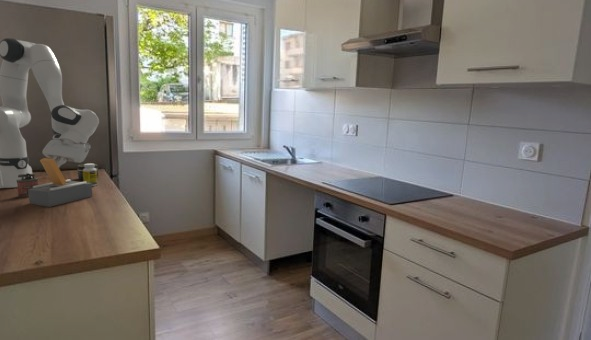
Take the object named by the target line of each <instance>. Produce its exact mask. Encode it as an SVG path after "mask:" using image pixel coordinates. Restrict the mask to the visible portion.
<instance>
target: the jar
mask: <svg viewBox="0 0 591 340" xmlns="http://www.w3.org/2000/svg"><path fill="white" fill-rule="evenodd" d="M84 164H85V163H83V164H82V163H80V164H78V165H77V166H76V167H77V168H76V169H77V177H78V179H79V180H80V181H83V169H84V168H85V167H84ZM94 164H95V167H94V168H96V170H97V179H98V177H99V165H98V164H96V163H94Z"/></svg>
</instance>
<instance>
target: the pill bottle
mask: <svg viewBox="0 0 591 340" xmlns="http://www.w3.org/2000/svg"><path fill="white" fill-rule="evenodd" d="M83 164H84V167H85V168H84V169H83V180H82V182H85V181H86V182H87V183H91V184H92V187H96V186H97V185H98V178H97V170H96V168H94V167H95V164H96V163H91V162H90V163H89V162H88V163H83Z"/></svg>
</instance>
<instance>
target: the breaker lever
mask: <svg viewBox="0 0 591 340" xmlns="http://www.w3.org/2000/svg"><path fill="white" fill-rule="evenodd" d="M39 162H40V164H41V165H42V167H43V169H44V170H45V172H46V174H47V176H48V177H49V179H50V181H51V183H53V184H55V185H65V184H66V183H67V182H66V180H67V179H66V178H65V176H64V175H63V173H62V171H61V169H60V167H59V168H58V166H57V164H56V162H55V160H54V159H53V158H47V157H43V158H41V159H40V160H39Z"/></svg>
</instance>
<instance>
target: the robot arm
mask: <svg viewBox="0 0 591 340" xmlns="http://www.w3.org/2000/svg"><path fill="white" fill-rule="evenodd" d="M0 58H1V59H2V61H1V65H0V99H1V104H2V105H0V189H5V188H6V189H9V188H10V189H11V188H18V186H17V181H16V180H18V179H22V177H18V175H19V174H26V173H29V174H33V169H32V166H31V165H29V163H30V161H29V160H30V159H29V156H28V152H27V151H28V150H27V141H26V139H25V138H24V137H23V135H22V133H21V131H20V128H23V127H26V126H27V125H29V123H31V120H32V115H31V112H30V111H29V107H28V101H27V91H28V80H29V72H30V71H29V70H30V69H31V72H32V74H33V76H34V79H35V80H36V82H37V84H38V85H39V88H40V89H41V92H42V94H43V95H44V98H45V99H46V102H47V105H48V108H49V111H50V114H51V115H50V116H51V118H50V119H51V132H52V133H53V136H52V139H51V140H50V141H48V142H47V144H45V146H44V148H43V149H42V155H43V156H45V158H49V159H54V160H55V162H56V164H57V166H58V168H59V169H60V168H61V167H62V165H64V164H66V163H67V162H73V163H79V164H82V163H83V162H84V161H85V160H86V159H87V158H86V157H88V154H89V152H90V149H91V148H92V147H91V144H90V143H89V142H88V141H89V138H90V137H92V135H93V134H94V133H95V132H96V130H97V128H98V127H99V125H100V119H99V116H98V115H97V114H96V112H94V111H92V110H90V109H78V108H74V107H72V106H70V105H67V104H65V102H64V100H63V74H62V70H61V67H60V64H59V62H58V59H57V57H56V55H55V53H54V52H53V50H52V49H51V48H50V47H49V46H48V45H46V44H43V43H34V42H31V41H26V40H25V41H24V40H20V39H15V38H12V37H11V38H10V37H9V38H3V39H2V40H1V41H0ZM31 177H32V176H31ZM24 179H25V177H24Z"/></svg>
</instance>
